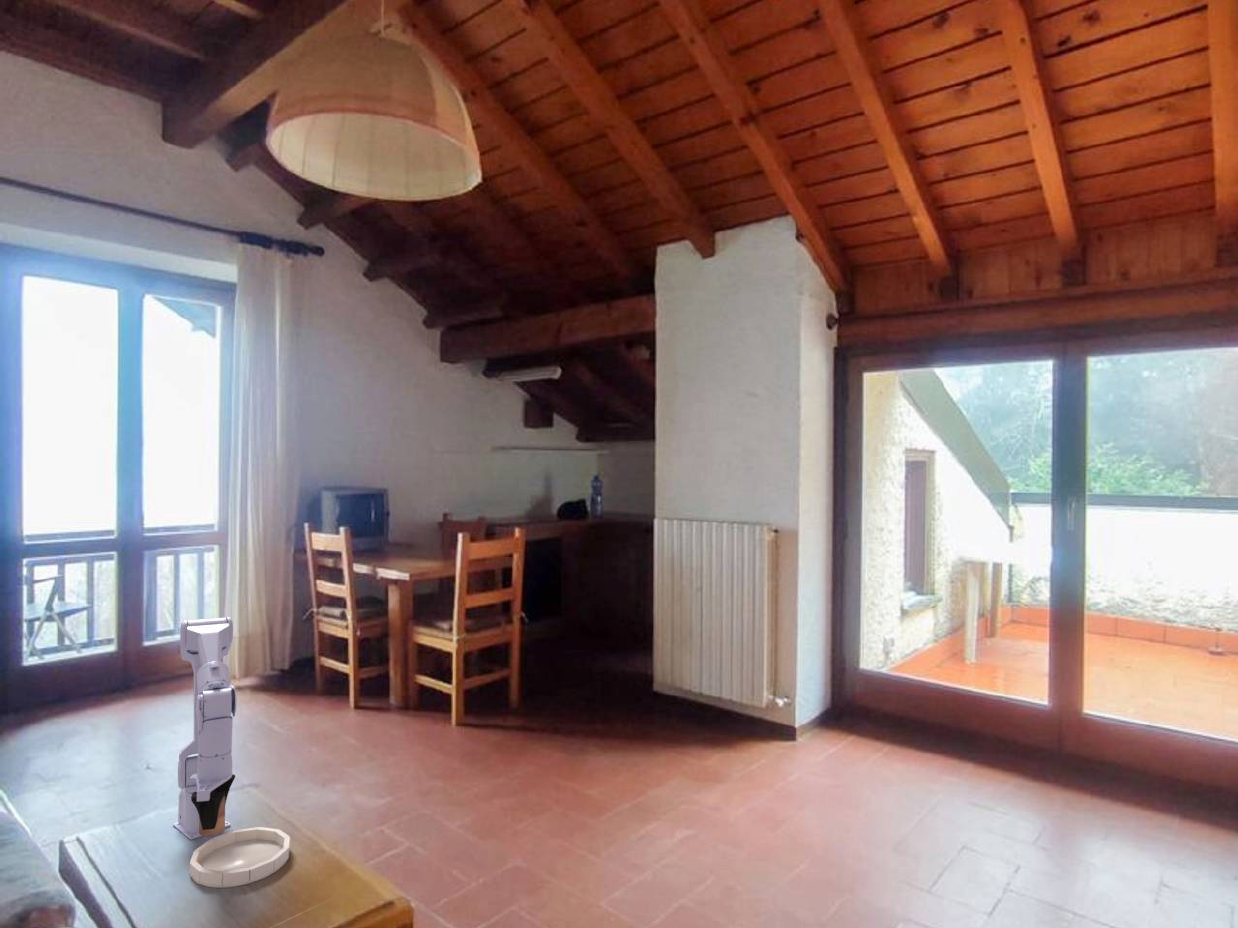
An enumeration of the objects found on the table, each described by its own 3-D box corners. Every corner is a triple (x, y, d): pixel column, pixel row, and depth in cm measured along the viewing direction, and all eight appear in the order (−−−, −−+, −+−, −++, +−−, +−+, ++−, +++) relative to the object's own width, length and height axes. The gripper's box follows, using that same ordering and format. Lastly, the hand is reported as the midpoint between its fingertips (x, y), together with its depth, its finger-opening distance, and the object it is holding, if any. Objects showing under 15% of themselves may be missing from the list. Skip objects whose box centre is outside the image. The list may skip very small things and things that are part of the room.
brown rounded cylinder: (195, 830, 140) (195, 799, 140) (219, 821, 143) (219, 791, 143) (204, 838, 137) (204, 806, 137) (228, 829, 140) (229, 798, 140)
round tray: (175, 864, 140) (176, 850, 140) (264, 831, 153) (264, 819, 153) (214, 899, 130) (214, 884, 130) (305, 860, 143) (305, 847, 143)
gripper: (203, 739, 146) (201, 806, 146) (179, 768, 132) (176, 843, 132) (241, 736, 148) (239, 803, 148) (221, 765, 134) (219, 839, 134)
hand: (212, 822), depth 140 cm, fingers closed on brown rounded cylinder, 4 cm apart
